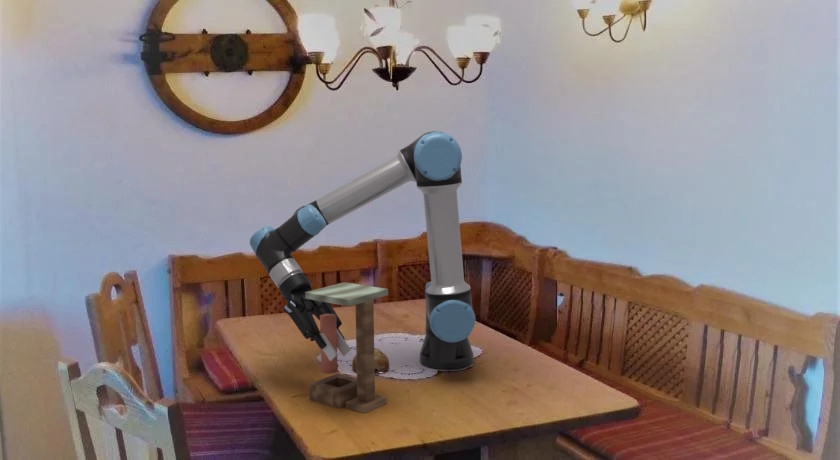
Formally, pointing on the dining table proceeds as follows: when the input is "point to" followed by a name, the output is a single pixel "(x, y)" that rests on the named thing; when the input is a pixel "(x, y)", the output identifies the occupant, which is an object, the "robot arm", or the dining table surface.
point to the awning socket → (362, 388)
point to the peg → (330, 331)
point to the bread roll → (376, 361)
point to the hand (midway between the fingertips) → (340, 355)
